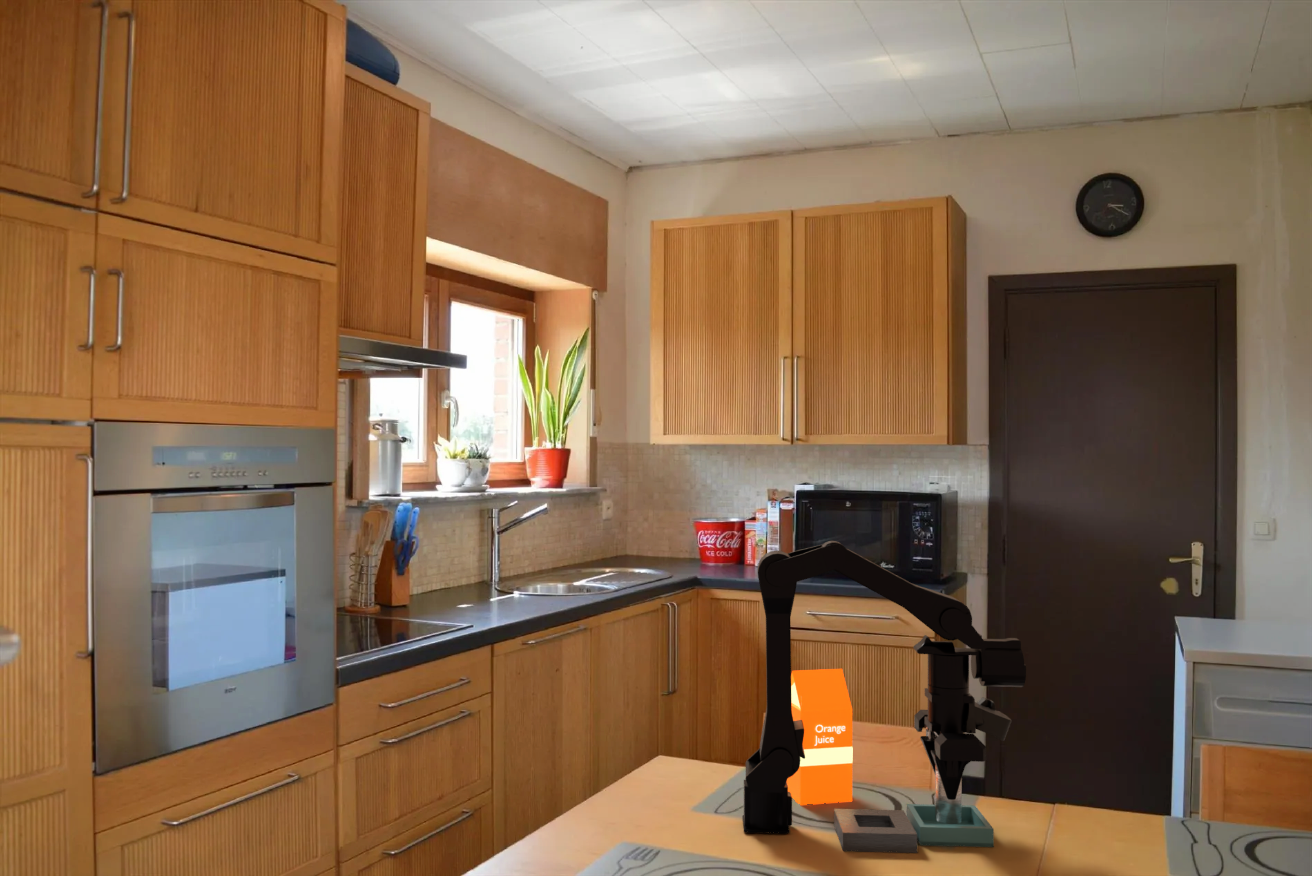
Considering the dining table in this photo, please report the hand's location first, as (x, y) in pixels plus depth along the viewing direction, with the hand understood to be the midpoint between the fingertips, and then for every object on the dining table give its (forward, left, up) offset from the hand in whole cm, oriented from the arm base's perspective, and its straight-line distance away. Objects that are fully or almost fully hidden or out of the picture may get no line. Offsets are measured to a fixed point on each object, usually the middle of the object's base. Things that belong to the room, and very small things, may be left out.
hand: (948, 795), depth 149 cm
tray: (0, 0, -6) cm, 6 cm away
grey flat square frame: (-11, -3, -6) cm, 13 cm away
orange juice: (-17, +16, -6) cm, 24 cm away
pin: (0, 0, -4) cm, 4 cm away
